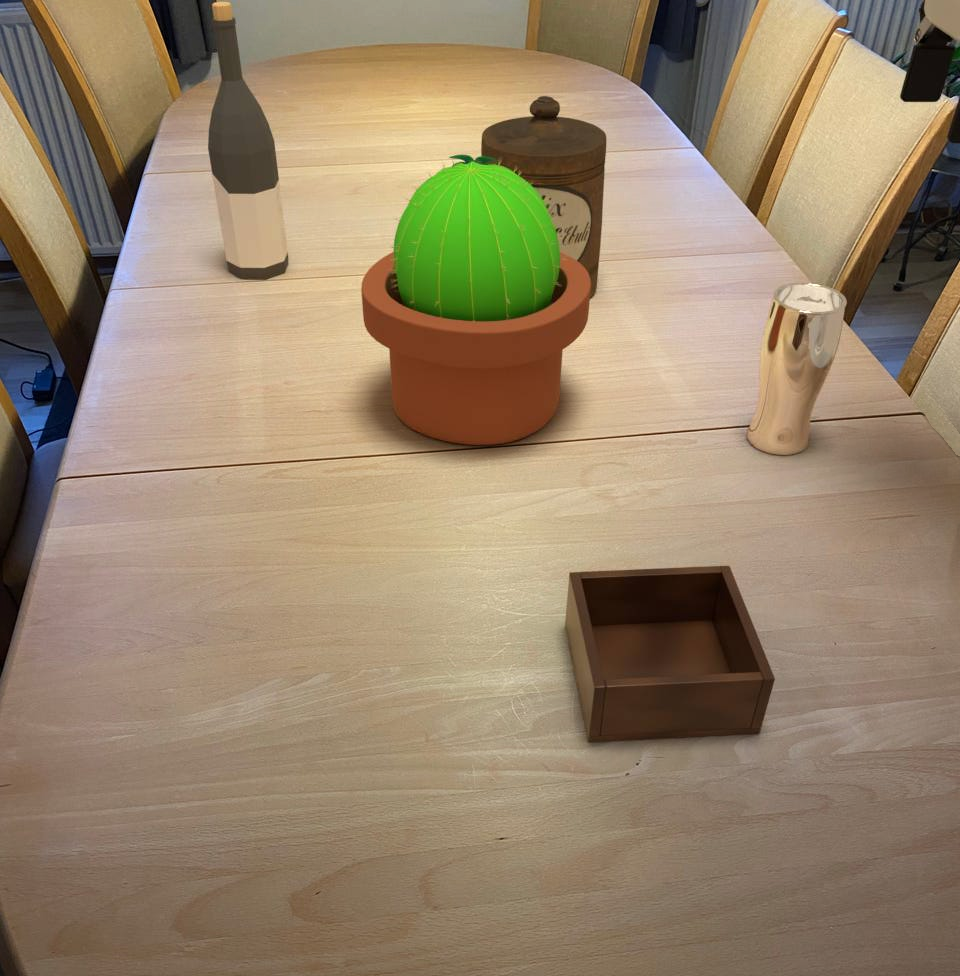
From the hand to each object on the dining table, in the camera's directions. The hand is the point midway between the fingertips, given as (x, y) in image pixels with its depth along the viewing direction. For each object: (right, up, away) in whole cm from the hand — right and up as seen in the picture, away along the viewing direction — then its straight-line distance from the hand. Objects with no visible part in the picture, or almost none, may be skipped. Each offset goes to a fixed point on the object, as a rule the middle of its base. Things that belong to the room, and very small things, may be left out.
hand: (942, 120), depth 80 cm
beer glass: (-6, -20, +24) cm, 32 cm away
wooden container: (-29, +4, +51) cm, 59 cm away
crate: (-22, -43, -1) cm, 49 cm away
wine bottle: (-65, +8, +55) cm, 85 cm away
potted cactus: (-37, -16, +29) cm, 49 cm away
